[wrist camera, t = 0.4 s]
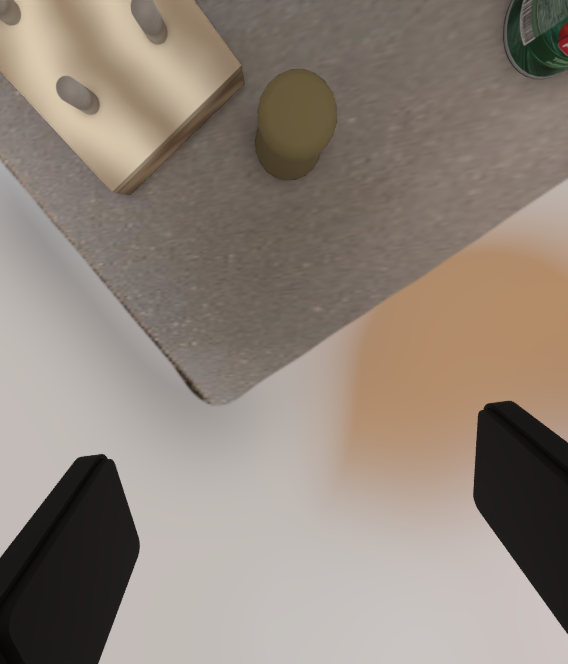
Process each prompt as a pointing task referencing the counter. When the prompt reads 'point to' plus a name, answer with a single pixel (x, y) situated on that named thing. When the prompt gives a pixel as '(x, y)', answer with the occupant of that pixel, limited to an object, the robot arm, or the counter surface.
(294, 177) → the olive chess pawn
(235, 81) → the wooden board with pegs
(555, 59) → the canned tomato
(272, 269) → the counter surface
